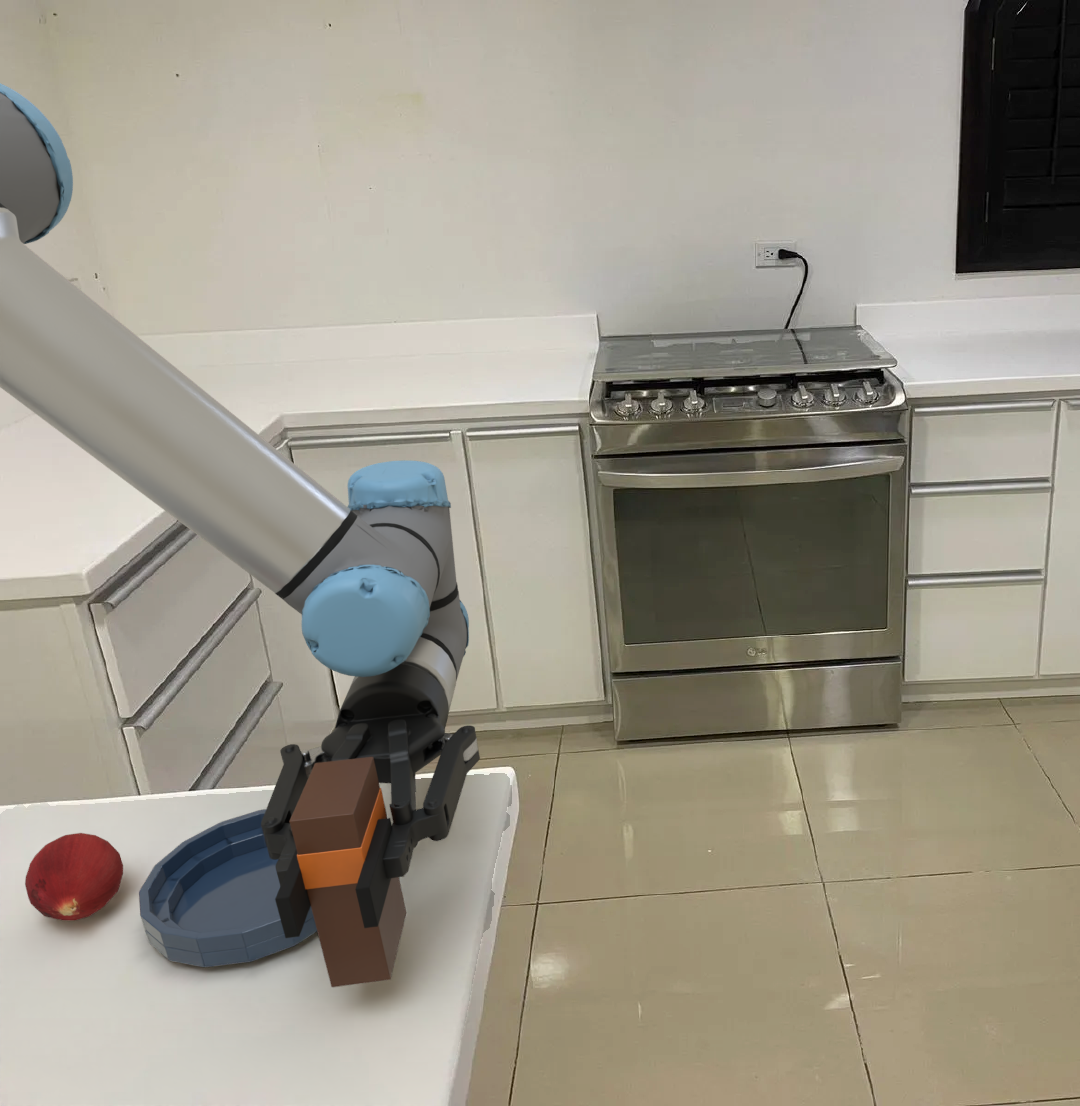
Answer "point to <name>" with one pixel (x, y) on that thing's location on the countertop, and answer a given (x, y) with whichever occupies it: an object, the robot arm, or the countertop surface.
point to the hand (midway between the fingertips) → (327, 912)
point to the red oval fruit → (74, 876)
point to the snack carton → (345, 869)
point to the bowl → (217, 898)
